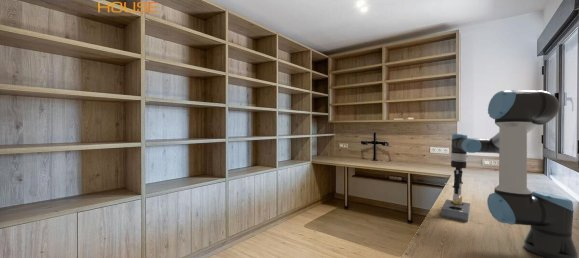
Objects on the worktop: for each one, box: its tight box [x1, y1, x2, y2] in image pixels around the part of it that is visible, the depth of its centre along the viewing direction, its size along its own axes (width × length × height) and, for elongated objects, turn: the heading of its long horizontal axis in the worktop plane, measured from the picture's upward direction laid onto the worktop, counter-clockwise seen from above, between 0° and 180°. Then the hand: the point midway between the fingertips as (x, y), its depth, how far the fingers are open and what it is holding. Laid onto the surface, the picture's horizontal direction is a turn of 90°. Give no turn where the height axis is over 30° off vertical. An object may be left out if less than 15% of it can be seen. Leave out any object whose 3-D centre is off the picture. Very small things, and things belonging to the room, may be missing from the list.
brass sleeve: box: [452, 194, 463, 205], centre depth 151 cm, size 4×4×9 cm
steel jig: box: [440, 199, 471, 223], centre depth 147 cm, size 22×12×4 cm, turn 143°
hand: (457, 197), depth 151 cm, fingers open, 13 cm apart
